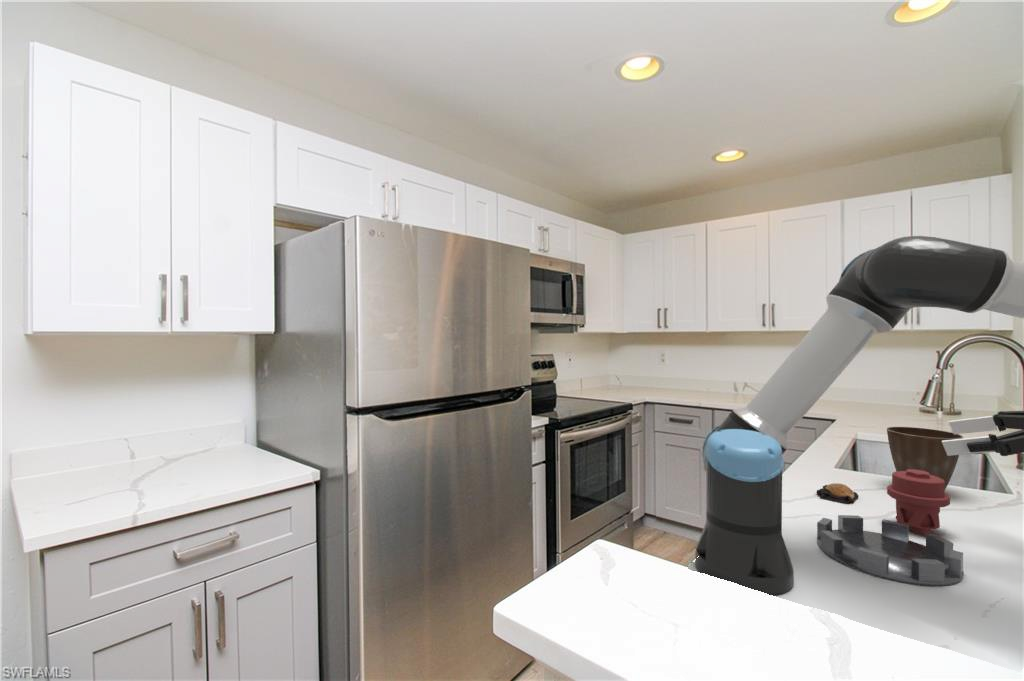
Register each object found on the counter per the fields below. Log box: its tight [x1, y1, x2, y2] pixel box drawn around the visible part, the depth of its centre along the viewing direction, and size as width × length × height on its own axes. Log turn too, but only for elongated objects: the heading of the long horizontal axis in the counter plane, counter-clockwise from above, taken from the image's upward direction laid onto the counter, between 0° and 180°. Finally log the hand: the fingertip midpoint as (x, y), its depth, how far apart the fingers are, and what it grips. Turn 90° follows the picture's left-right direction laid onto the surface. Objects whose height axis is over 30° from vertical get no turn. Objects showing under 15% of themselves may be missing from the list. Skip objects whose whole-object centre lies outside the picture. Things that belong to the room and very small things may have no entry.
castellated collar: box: [816, 514, 965, 587], centre depth 86 cm, size 21×21×4 cm
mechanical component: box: [886, 469, 951, 537], centre depth 98 cm, size 12×10×10 cm
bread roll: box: [816, 482, 859, 505], centre depth 119 cm, size 11×8×4 cm
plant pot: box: [886, 426, 964, 490], centre depth 122 cm, size 15×15×16 cm
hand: (948, 437), depth 92 cm, fingers open, 13 cm apart
